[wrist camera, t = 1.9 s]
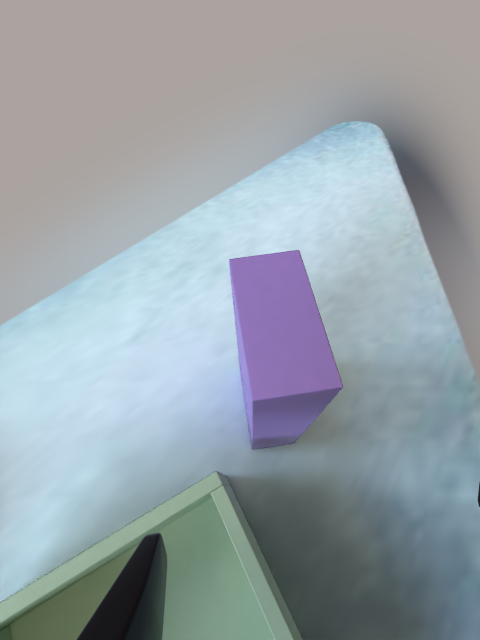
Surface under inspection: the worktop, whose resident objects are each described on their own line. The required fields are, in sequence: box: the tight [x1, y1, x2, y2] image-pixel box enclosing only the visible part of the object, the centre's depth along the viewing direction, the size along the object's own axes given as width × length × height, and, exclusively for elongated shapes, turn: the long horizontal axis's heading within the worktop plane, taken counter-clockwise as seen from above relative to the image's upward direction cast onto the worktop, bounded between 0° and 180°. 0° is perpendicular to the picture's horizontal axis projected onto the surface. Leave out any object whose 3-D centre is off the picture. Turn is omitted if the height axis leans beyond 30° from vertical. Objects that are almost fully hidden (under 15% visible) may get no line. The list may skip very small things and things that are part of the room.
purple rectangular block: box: [229, 250, 343, 449], centre depth 17 cm, size 6×3×13 cm, turn 8°
